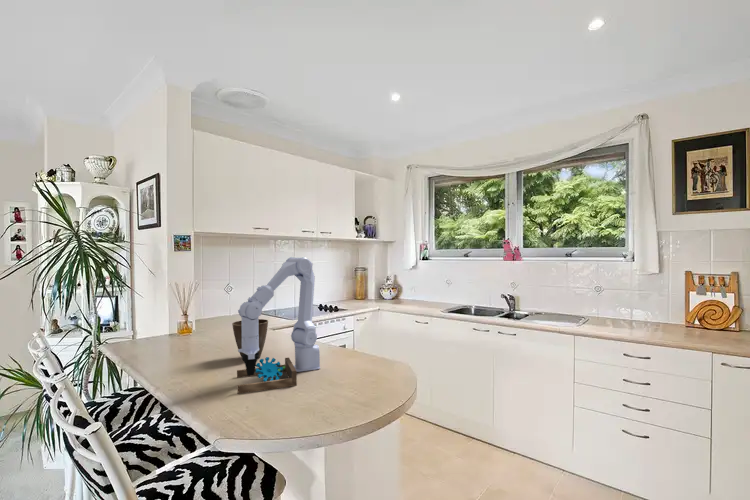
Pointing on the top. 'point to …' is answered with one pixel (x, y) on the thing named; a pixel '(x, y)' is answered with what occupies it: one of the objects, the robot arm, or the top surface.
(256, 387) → the wooden u-shaped frame
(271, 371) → the gear
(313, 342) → the robot arm
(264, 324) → the plant pot
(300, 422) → the top surface
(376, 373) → the top surface
